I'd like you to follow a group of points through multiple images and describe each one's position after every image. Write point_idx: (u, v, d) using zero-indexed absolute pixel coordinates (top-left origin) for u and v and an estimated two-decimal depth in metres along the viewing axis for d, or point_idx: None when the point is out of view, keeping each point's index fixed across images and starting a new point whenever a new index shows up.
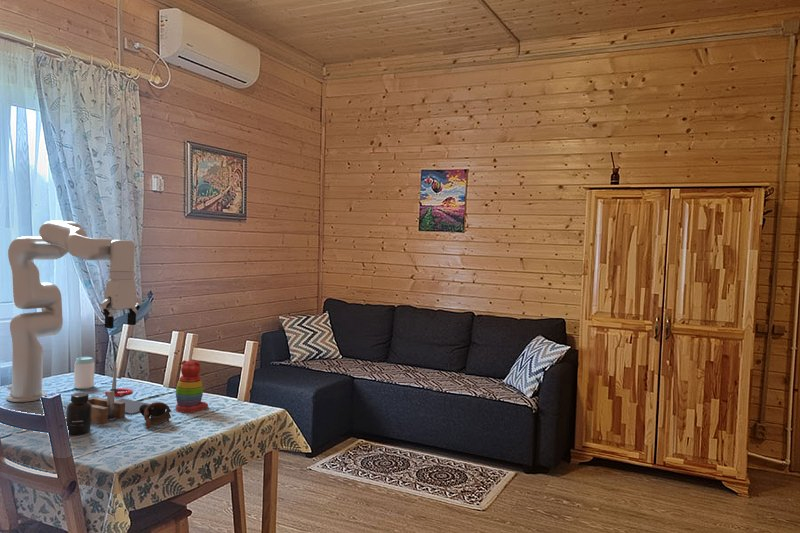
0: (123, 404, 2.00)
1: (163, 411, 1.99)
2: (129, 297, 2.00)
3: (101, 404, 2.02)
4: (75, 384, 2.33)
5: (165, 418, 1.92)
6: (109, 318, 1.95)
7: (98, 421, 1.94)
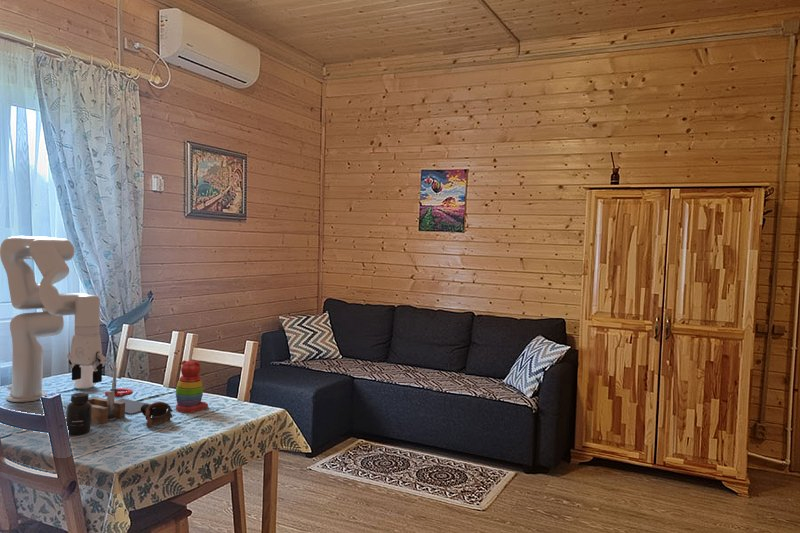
0: (123, 404, 2.00)
1: (164, 411, 2.00)
2: None
3: (101, 404, 2.02)
4: (75, 384, 2.33)
5: (166, 418, 1.93)
6: None
7: (98, 421, 1.94)
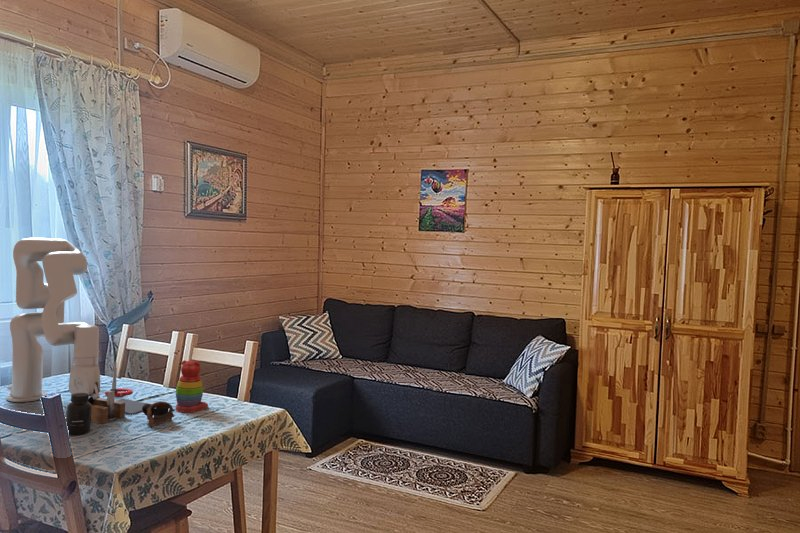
0: (123, 404, 2.00)
1: (166, 410, 2.00)
2: None
3: (101, 404, 2.02)
4: None
5: (168, 417, 1.93)
6: None
7: (98, 421, 1.94)
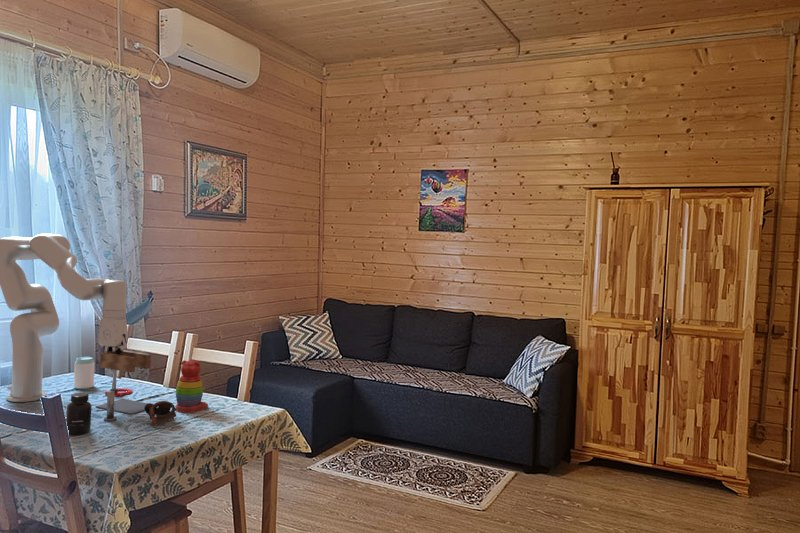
0: (149, 355, 2.11)
1: (168, 410, 2.01)
2: None
3: (128, 356, 2.13)
4: (75, 384, 2.33)
5: (171, 417, 1.94)
6: None
7: (126, 369, 2.04)
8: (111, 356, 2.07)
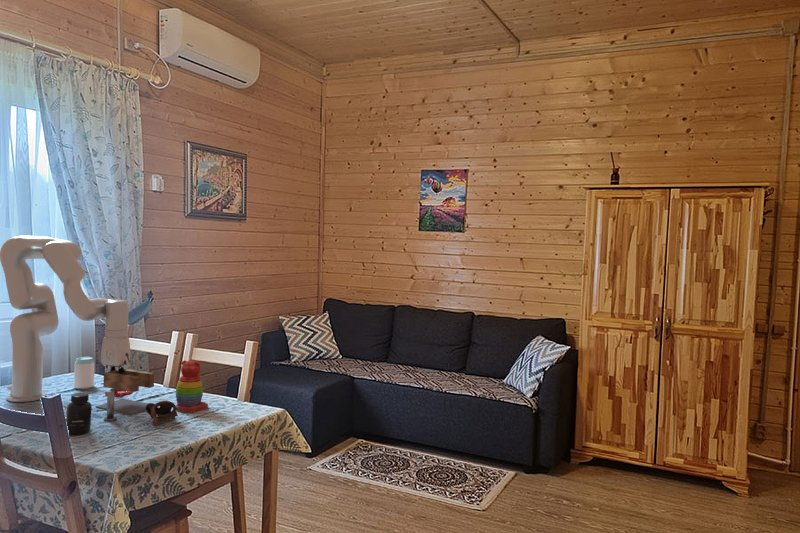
0: (152, 374, 2.13)
1: (169, 409, 2.01)
2: None
3: (131, 375, 2.15)
4: (75, 384, 2.33)
5: (172, 416, 1.95)
6: None
7: (130, 389, 2.06)
8: (115, 376, 2.09)
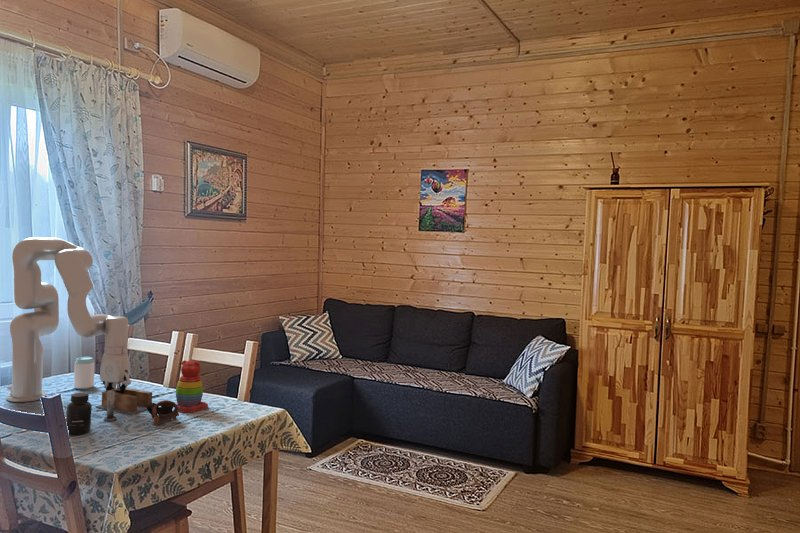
0: (150, 393, 2.13)
1: (170, 409, 2.02)
2: None
3: (129, 393, 2.15)
4: (75, 384, 2.33)
5: (173, 416, 1.95)
6: None
7: (128, 409, 2.06)
8: None
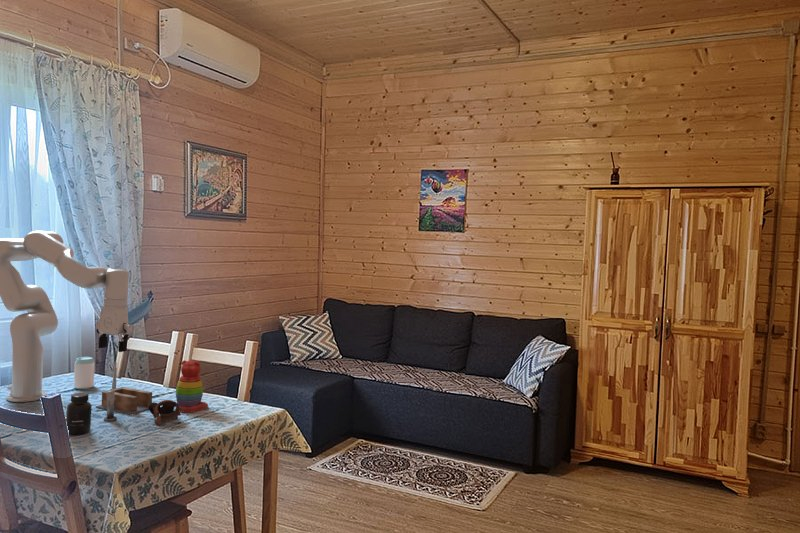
0: (150, 393, 2.13)
1: (172, 409, 2.02)
2: None
3: (129, 393, 2.15)
4: (75, 384, 2.33)
5: (175, 415, 1.96)
6: None
7: (128, 409, 2.06)
8: None
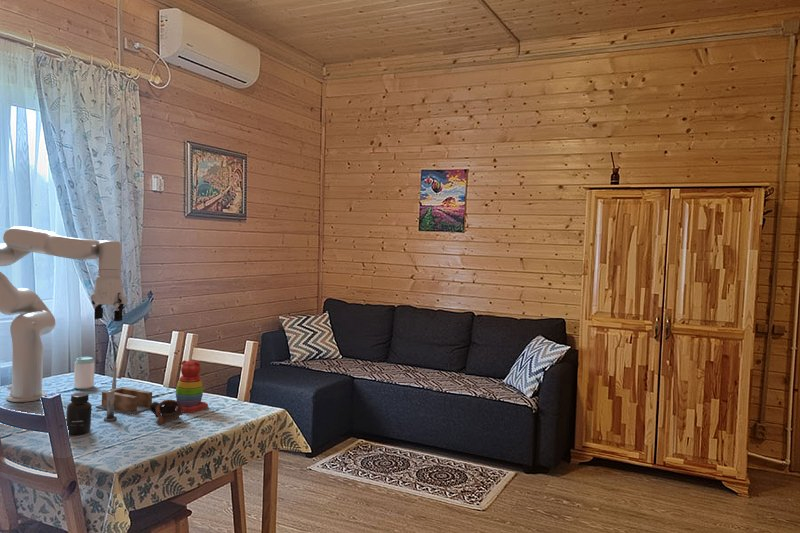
0: (150, 393, 2.13)
1: (173, 408, 2.03)
2: None
3: (129, 393, 2.15)
4: (75, 384, 2.33)
5: (177, 415, 1.96)
6: None
7: (128, 409, 2.06)
8: None
